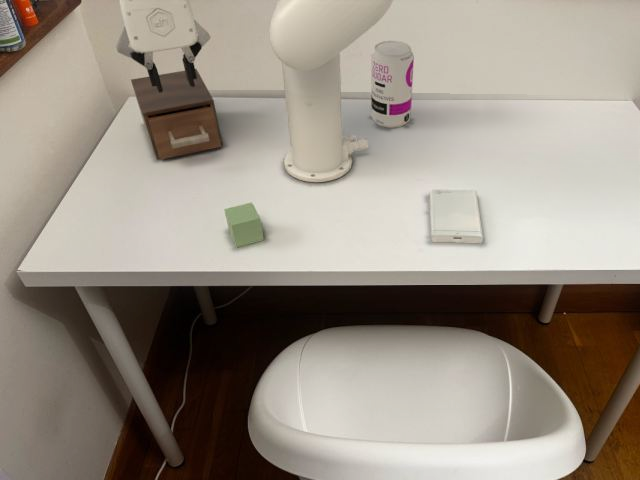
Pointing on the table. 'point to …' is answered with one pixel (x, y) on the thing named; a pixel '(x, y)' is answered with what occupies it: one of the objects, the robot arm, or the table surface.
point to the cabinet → (170, 98)
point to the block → (244, 224)
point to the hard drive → (455, 216)
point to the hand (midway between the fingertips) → (175, 85)
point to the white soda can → (391, 83)
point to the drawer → (184, 131)
